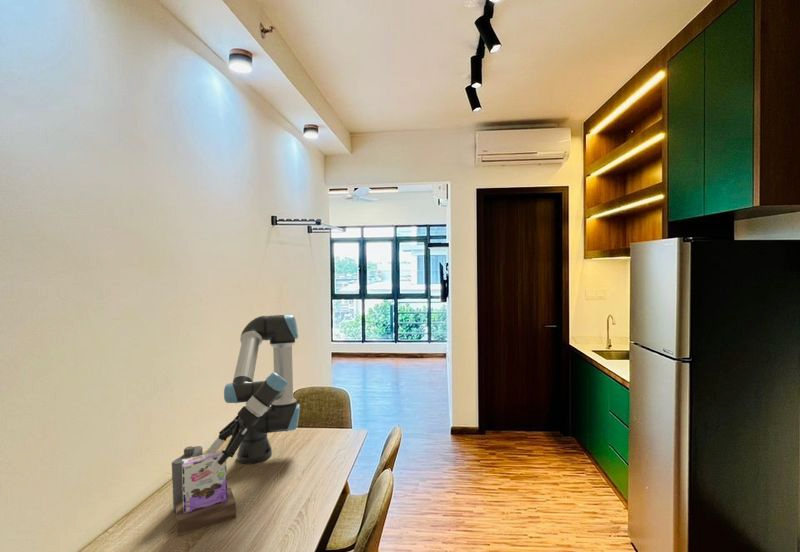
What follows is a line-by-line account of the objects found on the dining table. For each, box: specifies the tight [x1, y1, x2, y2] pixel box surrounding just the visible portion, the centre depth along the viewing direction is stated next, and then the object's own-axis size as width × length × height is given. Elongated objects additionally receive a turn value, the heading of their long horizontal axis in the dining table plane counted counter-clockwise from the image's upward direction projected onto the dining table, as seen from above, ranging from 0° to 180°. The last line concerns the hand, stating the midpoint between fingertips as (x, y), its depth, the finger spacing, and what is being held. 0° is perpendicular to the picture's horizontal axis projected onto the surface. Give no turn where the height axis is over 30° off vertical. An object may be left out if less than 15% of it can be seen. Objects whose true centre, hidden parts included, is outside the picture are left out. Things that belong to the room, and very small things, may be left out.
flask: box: [171, 445, 204, 513], centre depth 152 cm, size 15×6×20 cm, turn 176°
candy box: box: [182, 449, 228, 513], centre depth 141 cm, size 14×6×16 cm, turn 120°
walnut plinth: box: [175, 487, 237, 537], centre depth 141 cm, size 12×18×5 cm, turn 121°
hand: (209, 463), depth 141 cm, fingers open, 13 cm apart
